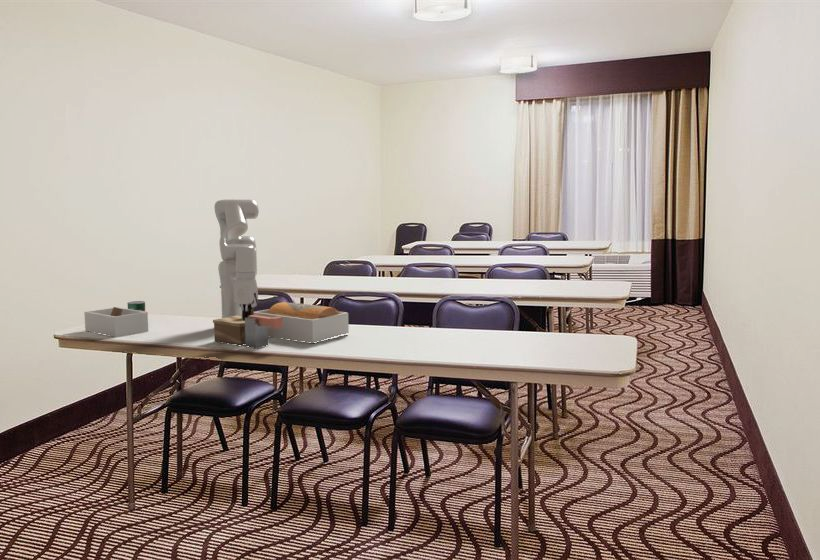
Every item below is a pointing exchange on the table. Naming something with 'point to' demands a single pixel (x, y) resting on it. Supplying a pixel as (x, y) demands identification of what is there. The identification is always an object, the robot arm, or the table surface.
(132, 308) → the canned tomato
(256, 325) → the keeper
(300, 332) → the frame
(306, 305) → the orange brown curved block
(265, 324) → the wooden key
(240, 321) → the lid
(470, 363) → the table surface
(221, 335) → the brown open box
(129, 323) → the frame
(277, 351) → the table surface
